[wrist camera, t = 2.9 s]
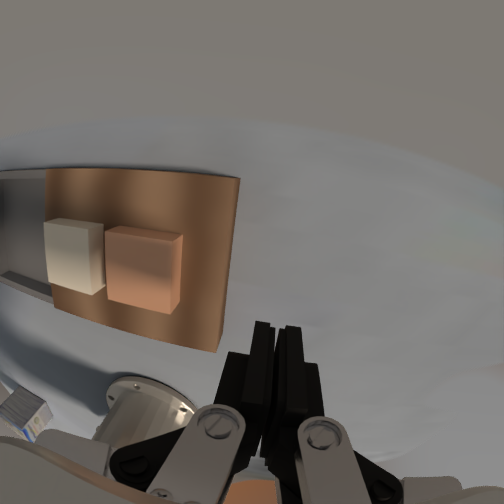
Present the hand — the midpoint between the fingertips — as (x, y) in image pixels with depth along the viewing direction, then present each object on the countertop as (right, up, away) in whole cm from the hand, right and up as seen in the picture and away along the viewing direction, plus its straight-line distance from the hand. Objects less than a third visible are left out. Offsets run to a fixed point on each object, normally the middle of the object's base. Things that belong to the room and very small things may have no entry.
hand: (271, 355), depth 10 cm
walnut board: (-11, +4, +12) cm, 16 cm away
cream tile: (-14, +4, +9) cm, 18 cm away
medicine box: (-40, -23, +23) cm, 52 cm away
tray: (-25, +6, +13) cm, 29 cm away
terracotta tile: (-8, +3, +9) cm, 12 cm away
